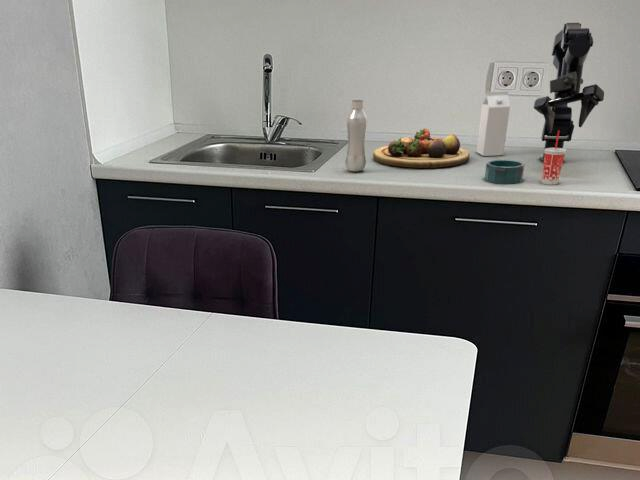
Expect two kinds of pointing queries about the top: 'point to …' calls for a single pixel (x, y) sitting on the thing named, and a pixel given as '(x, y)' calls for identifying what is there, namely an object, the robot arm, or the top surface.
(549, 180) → the beverage cup
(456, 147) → the wooden plate
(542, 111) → the robot arm
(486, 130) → the milk carton
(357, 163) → the plastic bottle
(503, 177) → the pot
